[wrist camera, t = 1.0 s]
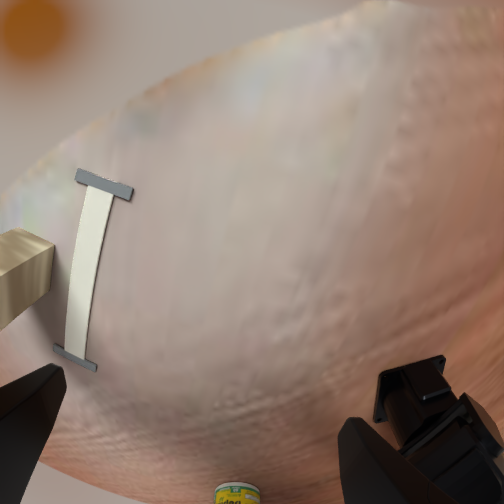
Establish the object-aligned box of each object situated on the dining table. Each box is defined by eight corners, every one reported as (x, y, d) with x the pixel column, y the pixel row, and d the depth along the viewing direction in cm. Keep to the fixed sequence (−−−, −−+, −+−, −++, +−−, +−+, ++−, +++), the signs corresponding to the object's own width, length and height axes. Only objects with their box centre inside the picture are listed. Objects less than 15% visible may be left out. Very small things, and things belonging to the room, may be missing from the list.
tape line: (78, 168, 18) (77, 168, 18) (133, 188, 18) (132, 188, 18) (54, 349, 22) (53, 351, 22) (96, 370, 23) (95, 372, 23)
